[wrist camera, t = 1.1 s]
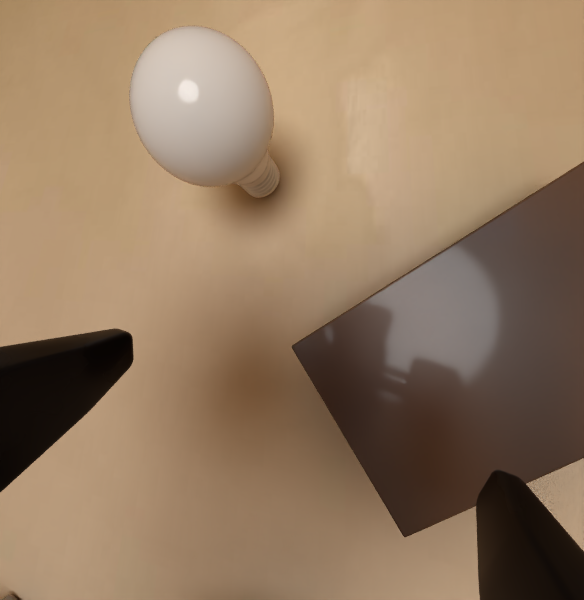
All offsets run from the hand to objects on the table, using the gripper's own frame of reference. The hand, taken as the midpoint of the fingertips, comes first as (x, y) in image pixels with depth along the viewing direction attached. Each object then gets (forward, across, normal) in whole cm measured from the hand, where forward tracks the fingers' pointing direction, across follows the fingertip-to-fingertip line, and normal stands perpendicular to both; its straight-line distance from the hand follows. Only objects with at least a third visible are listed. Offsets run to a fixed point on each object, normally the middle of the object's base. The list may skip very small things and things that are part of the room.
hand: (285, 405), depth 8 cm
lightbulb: (+16, +8, -3) cm, 19 cm away
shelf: (+13, -7, +3) cm, 15 cm away
